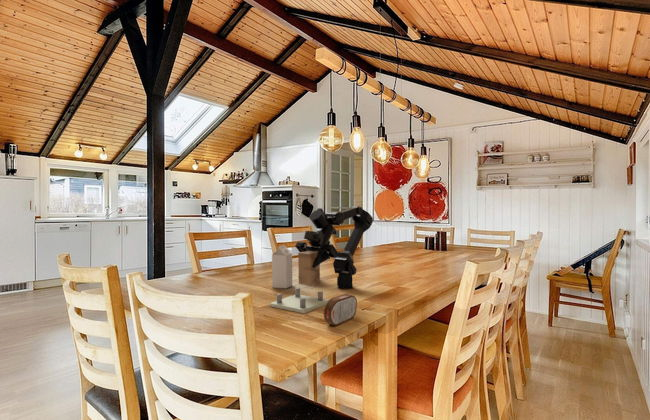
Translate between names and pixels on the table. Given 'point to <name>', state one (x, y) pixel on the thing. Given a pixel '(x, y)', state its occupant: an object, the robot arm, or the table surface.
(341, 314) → the tin
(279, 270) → the milk carton
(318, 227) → the robot arm
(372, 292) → the table surface
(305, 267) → the walnut block
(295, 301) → the peg stand
